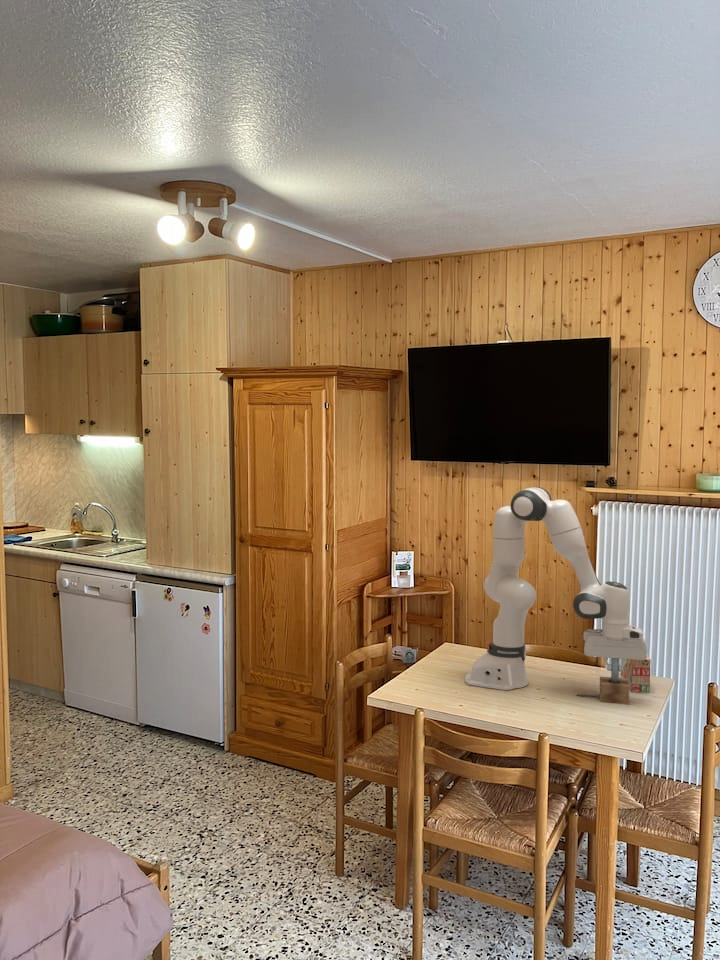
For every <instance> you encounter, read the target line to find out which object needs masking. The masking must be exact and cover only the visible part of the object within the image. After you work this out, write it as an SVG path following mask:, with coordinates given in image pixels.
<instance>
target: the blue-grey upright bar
mask: <svg viewBox="0 0 720 960" xmlns="http://www.w3.org/2000/svg"><path fill="white" fill-rule="evenodd" d="M610 659H611V661H610V663H611V665H612V668H611V669H612V671H610V674H611V676H610V677H611V683H619V678H620V677H619V675H620V673H619V672H620V671H619V665H620V658H610Z"/></svg>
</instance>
